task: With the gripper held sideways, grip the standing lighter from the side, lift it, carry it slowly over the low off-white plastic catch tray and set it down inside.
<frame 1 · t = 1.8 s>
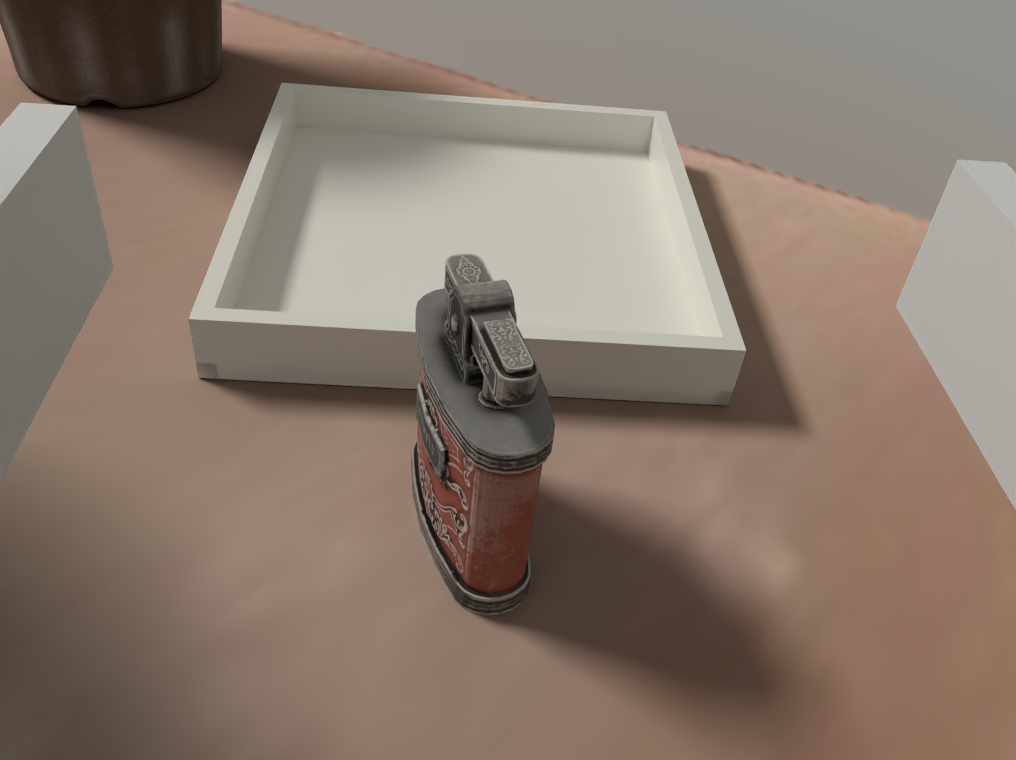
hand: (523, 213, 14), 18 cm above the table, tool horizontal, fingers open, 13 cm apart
catch tray: (471, 246, 47), on the table
plant pot: (127, 73, 59), on the table
lighter: (466, 526, 34), on the table
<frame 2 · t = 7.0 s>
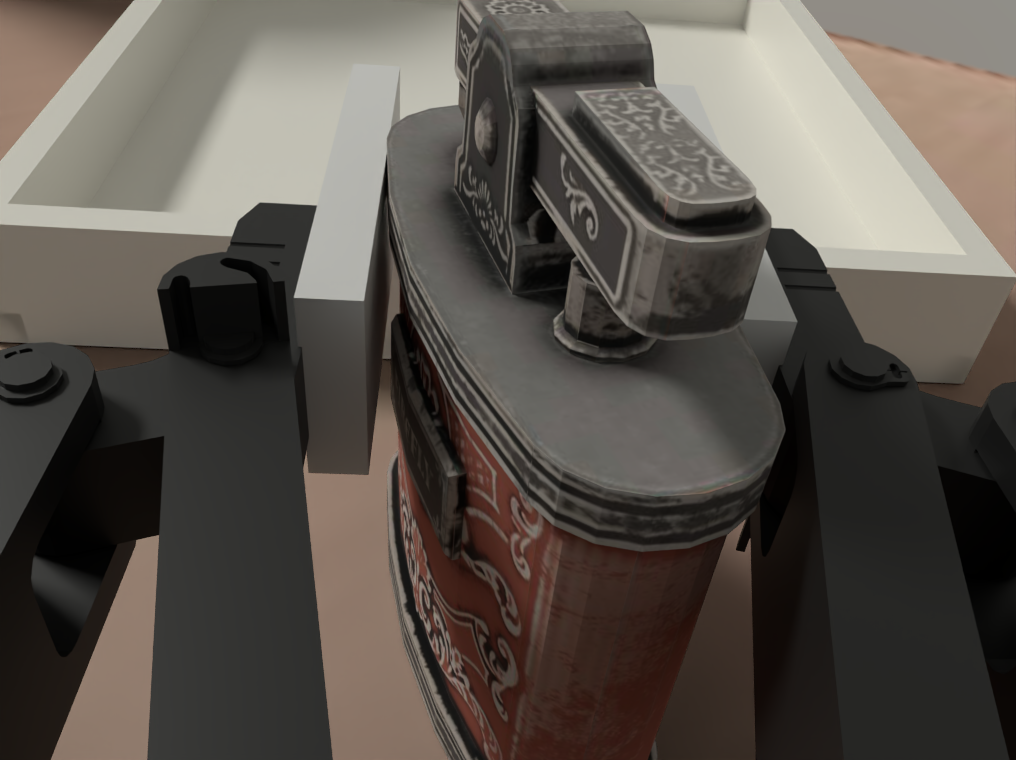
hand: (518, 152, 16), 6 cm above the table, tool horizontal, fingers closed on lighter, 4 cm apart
catch tray: (489, 143, 30), on the table
lighter: (500, 631, 16), on the table, touching gripper
when the fingers open (8 cm above the table, at t = 15.0 s): lighter drops 1 cm, resting on catch tray.
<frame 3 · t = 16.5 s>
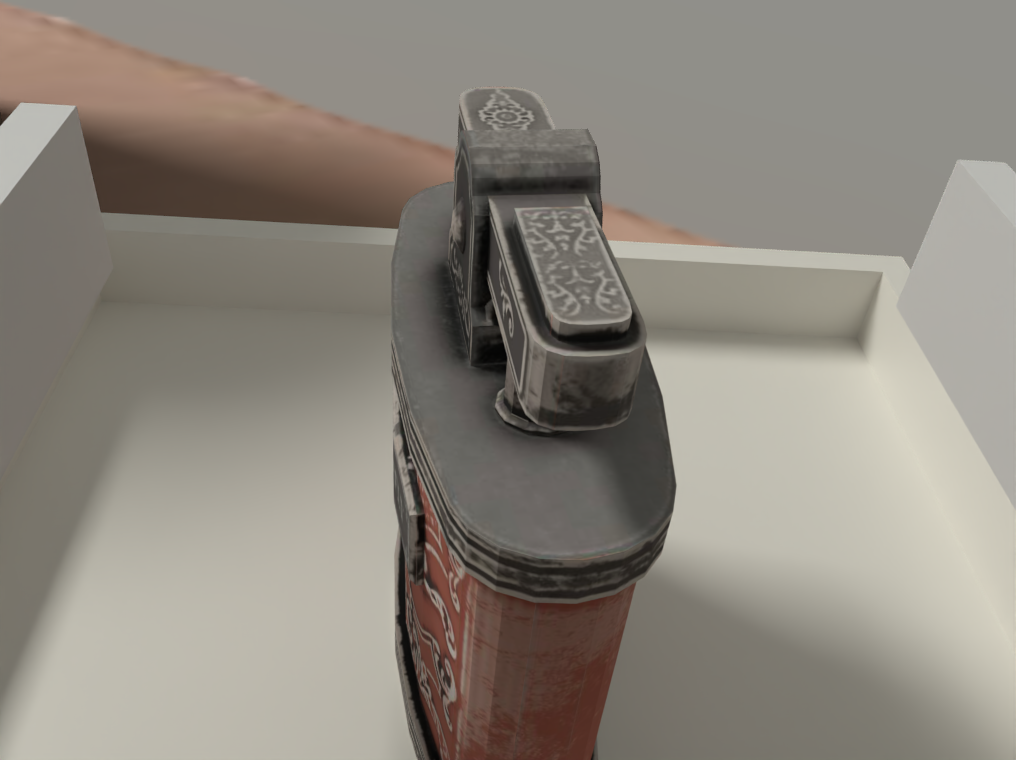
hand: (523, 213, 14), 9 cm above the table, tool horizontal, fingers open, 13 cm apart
catch tray: (490, 670, 18), on the table
lighter: (485, 649, 18), point 1 cm above the table, touching catch tray
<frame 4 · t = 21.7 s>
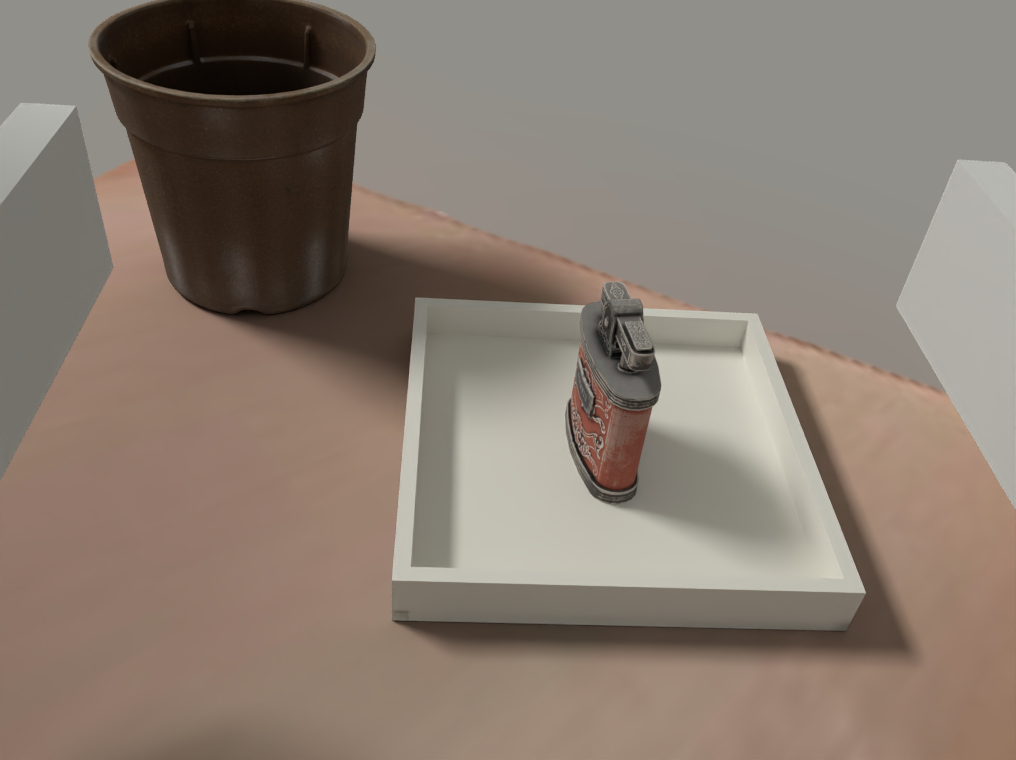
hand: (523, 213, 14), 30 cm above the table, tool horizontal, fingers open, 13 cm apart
catch tray: (599, 461, 53), on the table
plant pot: (261, 270, 66), on the table
lighter: (598, 453, 53), point 1 cm above the table, touching catch tray
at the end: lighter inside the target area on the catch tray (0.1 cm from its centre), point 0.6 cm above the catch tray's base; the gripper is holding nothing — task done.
